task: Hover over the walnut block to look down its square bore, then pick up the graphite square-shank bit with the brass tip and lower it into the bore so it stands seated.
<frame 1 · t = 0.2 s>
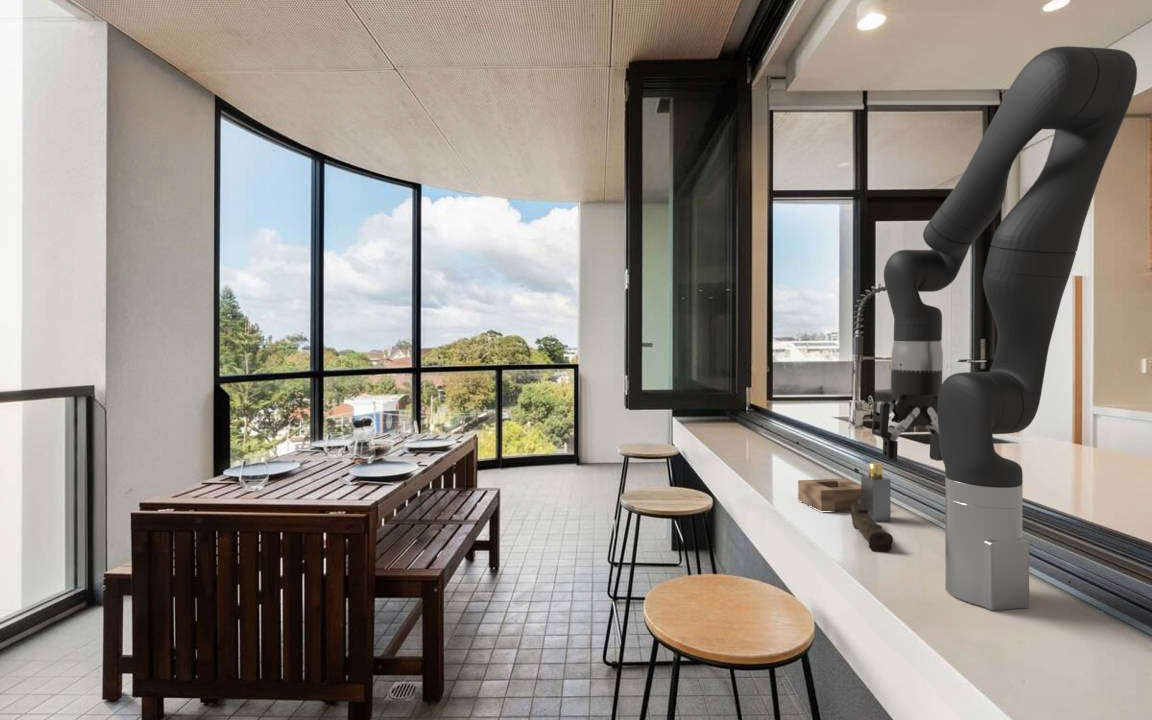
hand: (913, 460, 96), 17 cm above the countertop, tool pointing down, fingers open, 8 cm apart
bit: (875, 518, 120), on the countertop
dark brown rod: (863, 537, 110), on the countertop
housing: (833, 505, 131), on the countertop
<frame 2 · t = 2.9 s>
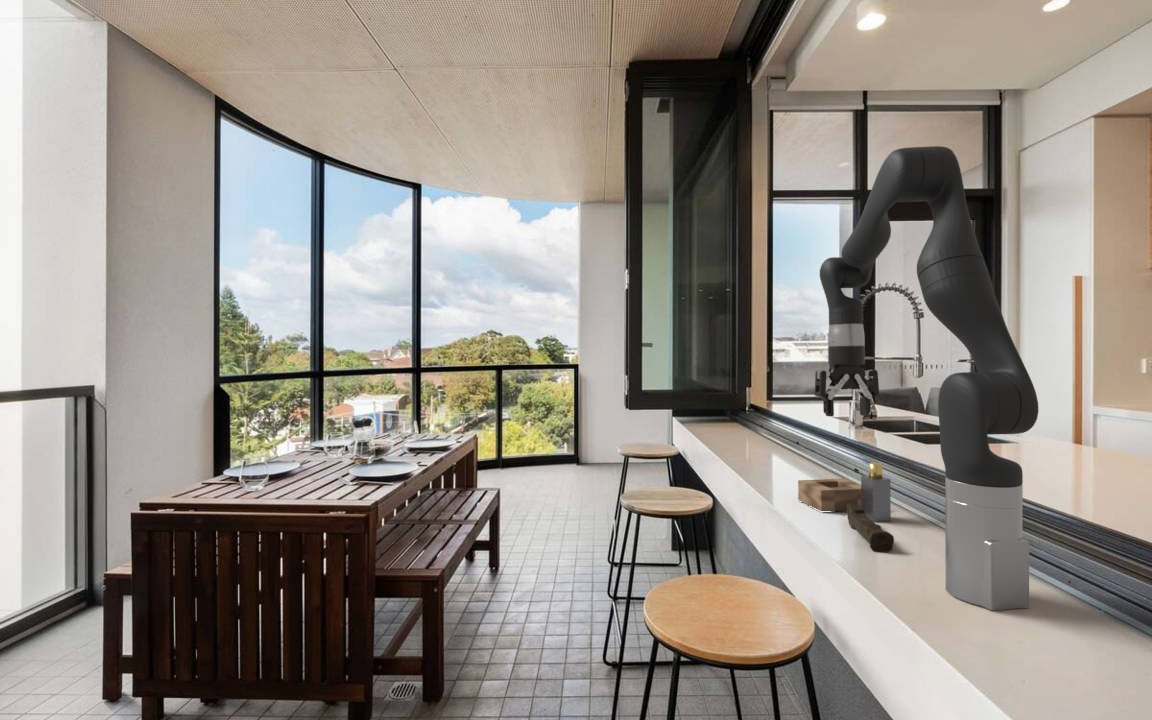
hand: (847, 415, 126), 22 cm above the countertop, tool pointing down, fingers open, 8 cm apart
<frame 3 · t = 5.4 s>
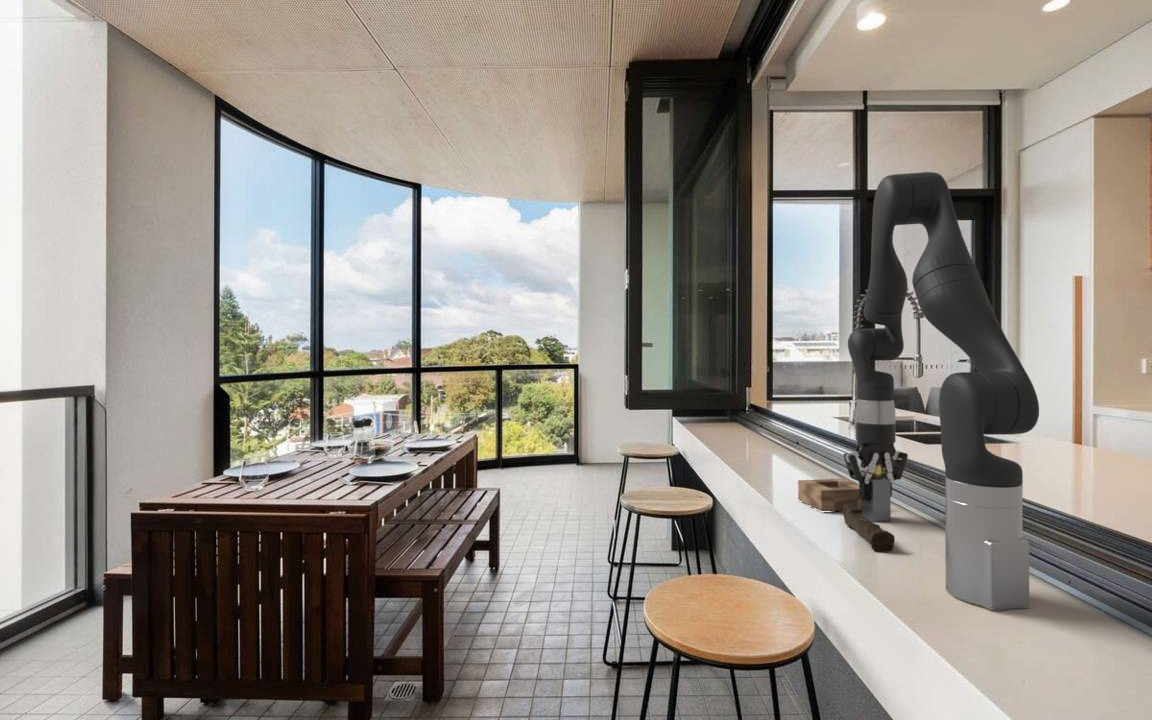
hand: (875, 499, 120), 4 cm above the countertop, tool pointing down, fingers closed on bit, 4 cm apart
bit: (875, 518, 120), on the countertop, touching gripper
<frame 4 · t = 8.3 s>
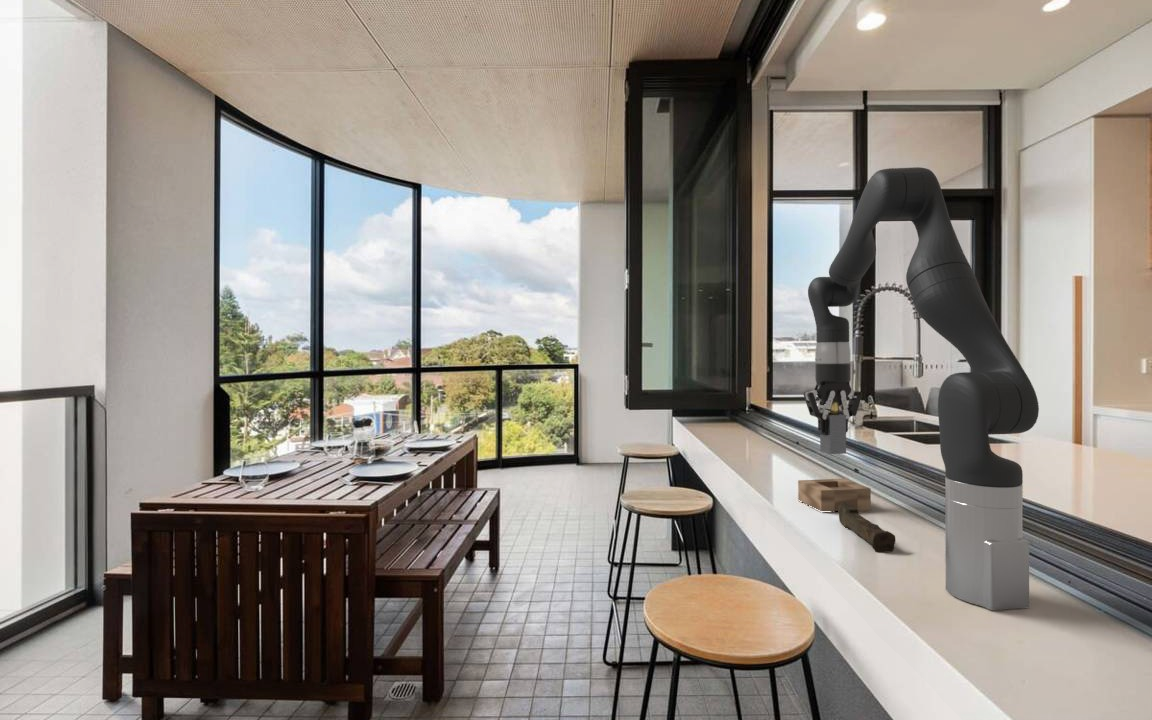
hand: (833, 434, 130), 17 cm above the countertop, tool pointing down, fingers closed on bit, 4 cm apart
bit: (833, 452, 130), point 13 cm above the countertop, touching gripper
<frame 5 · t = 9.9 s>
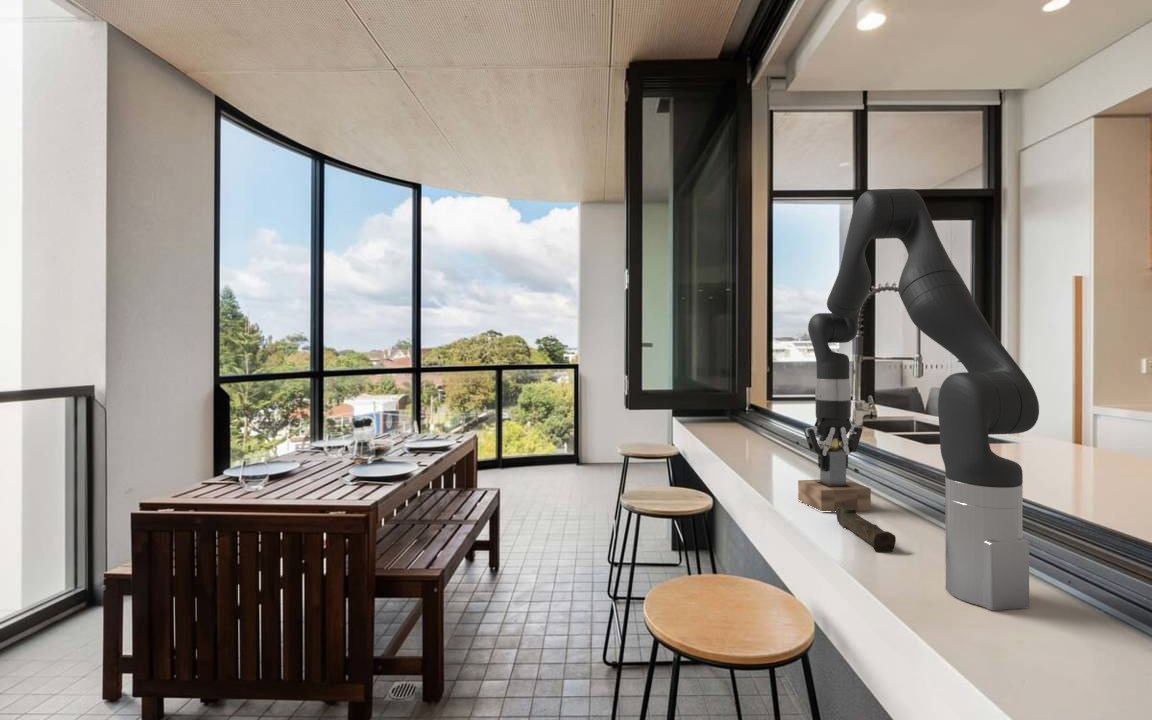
hand: (833, 470, 130), 8 cm above the countertop, tool pointing down, fingers closed on bit, 4 cm apart
bit: (833, 488, 130), point 4 cm above the countertop, touching gripper
when the fingers open (7 cm above the countertop, at t = 11.2 s): bit drops 2 cm, resting in housing.
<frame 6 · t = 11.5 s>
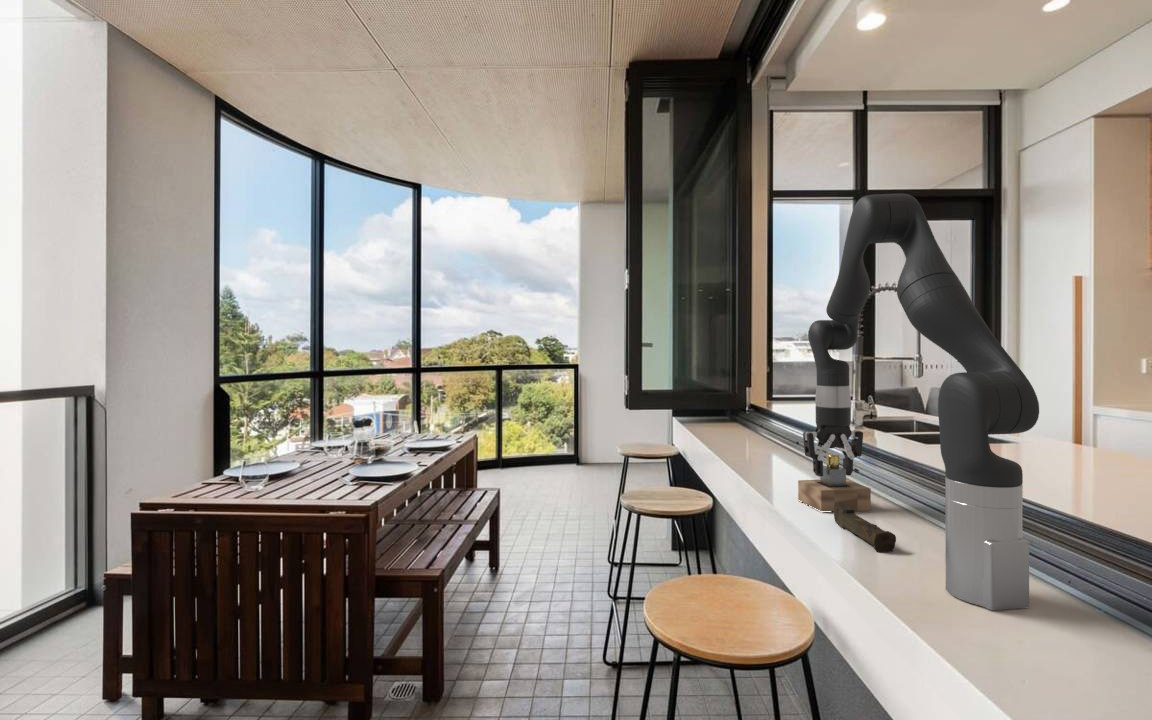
hand: (833, 475, 130), 7 cm above the countertop, tool pointing down, fingers open, 6 cm apart
bit: (833, 505, 130), resting in housing
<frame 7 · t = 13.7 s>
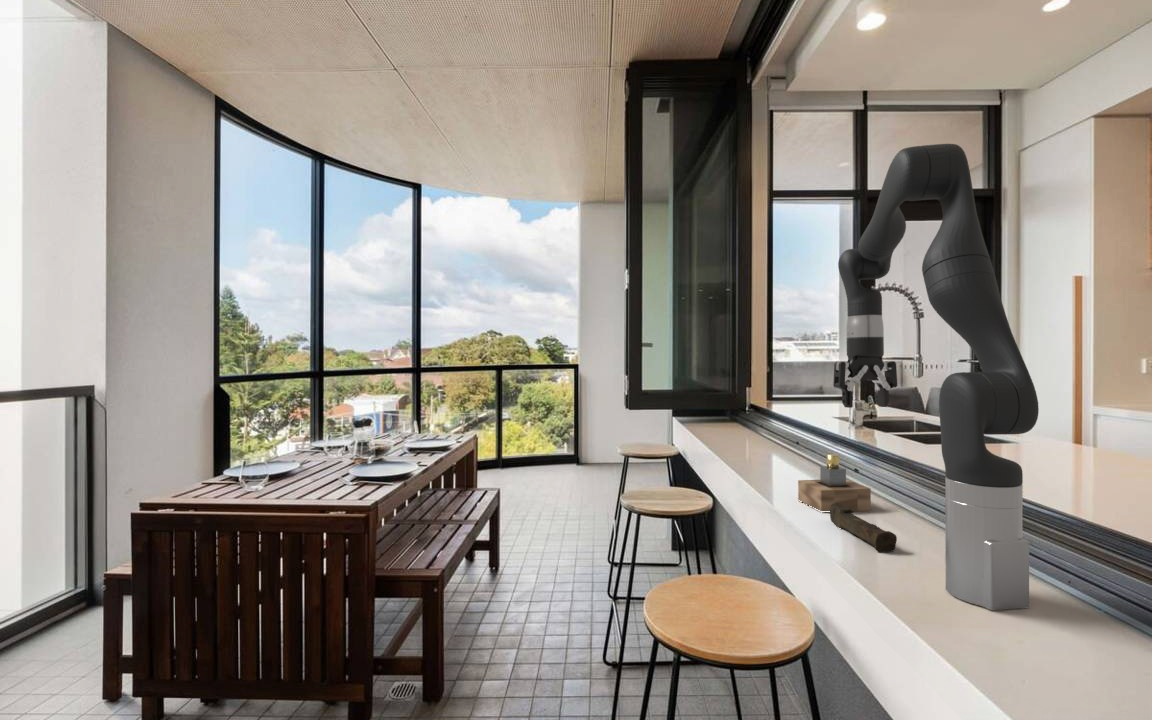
hand: (865, 407, 126), 24 cm above the countertop, tool pointing down, fingers open, 8 cm apart
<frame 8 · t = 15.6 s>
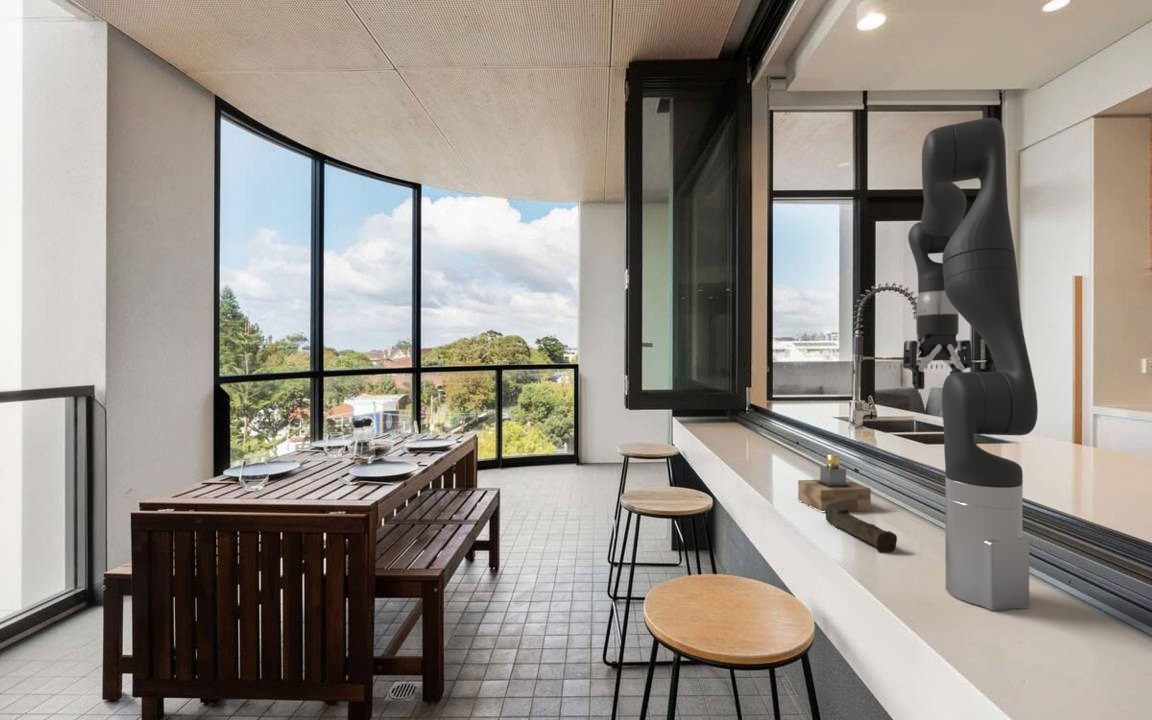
hand: (937, 388, 119), 28 cm above the countertop, tool pointing down, fingers open, 8 cm apart
at the end: bit 0.1 cm off-centre on the housing, point 0.0 cm above the housing's base; bit tilted 0°; the gripper is holding nothing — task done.
